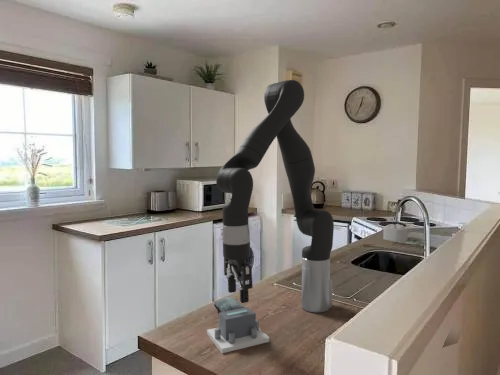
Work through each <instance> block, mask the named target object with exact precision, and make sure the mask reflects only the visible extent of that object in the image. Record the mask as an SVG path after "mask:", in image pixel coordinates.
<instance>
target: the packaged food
mask: <svg viewBox="0 0 500 375" xmlns="http://www.w3.org/2000/svg"><path fill="white" fill-rule="evenodd" d="M213 306H214V307H215V309H216V310H217V312H218V313H220V312H225V311H231V310H236V309H241V308H246V306H245V305H244V304H243V303H241V302H240V300H239V299H238V298H237V297H230V296H226V297H224V298H221V299H218V300H216V301H215V302H214V303H213Z"/></svg>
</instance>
